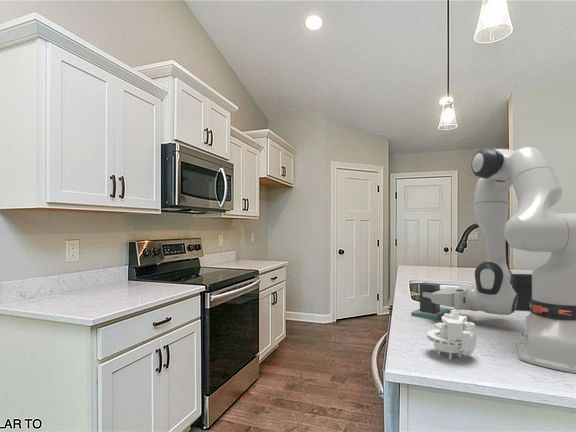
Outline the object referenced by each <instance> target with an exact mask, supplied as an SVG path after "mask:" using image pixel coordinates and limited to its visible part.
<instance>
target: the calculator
mask: <svg viewBox="0 0 576 432" xmlns="http://www.w3.org/2000/svg"><path fill="white" fill-rule="evenodd" d="M512 275H513V282H512V284H511V286H512V288H513V289H514V291H515V292H516V293H517V294H518V304H517V308H516V310H515V311H525V312H528V311H529V312H530V299H531V298H532V273H512Z"/></svg>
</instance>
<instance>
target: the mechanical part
mask: <svg viewBox="0 0 576 432" xmlns="http://www.w3.org/2000/svg"><path fill="white" fill-rule="evenodd" d="M440 320H441V321H442V322H440V321H439V322H435V324H434V328H435V329H432V330H428V331H427V332H426V334H427V336H426V339H427V340H428V341H430V342H432V343H433V346H434V349H436V350H437V356H440V355H441V353H442V352H444V353H449V354H448V359H449V360H452V354H458V358H460V359H462V354H466V355H468V356H469V355H472V354H473V353H474V351H475V349H476V347H477V333H476V324H475V323H474V322H471V321H468V317H467V316H466V315H460V313H459V312H458V310H456V309H454V310H450V314H449V313H445V314H444V316H442V317H441V319H440Z"/></svg>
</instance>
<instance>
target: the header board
mask: <svg viewBox="0 0 576 432" xmlns="http://www.w3.org/2000/svg"><path fill="white" fill-rule="evenodd" d="M453 309H454V308H451V307H443V306H440V312H439V313H437V314H431V313H425V312H420V308H418V309H416V310H414V311H412V312H411V313H410V315H411V316H412V317H417V318H422V319H427V320H428V319H429V320H434V321H440V320H441V317H442V316H444V314H445V313H449V314H450V310H453Z"/></svg>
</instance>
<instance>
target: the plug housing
mask: <svg viewBox="0 0 576 432" xmlns="http://www.w3.org/2000/svg"><path fill="white" fill-rule="evenodd" d="M440 289H441V284H440V283H433V282H425V281H424V282H421V283H419V309H420V312H425V313H431V314H437V313H439V312H440V307H441V305H439V304H435V303H432V302H431V299H430V298H427V297H423V292H429V293H433V292H436V291H439V290H440Z"/></svg>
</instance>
